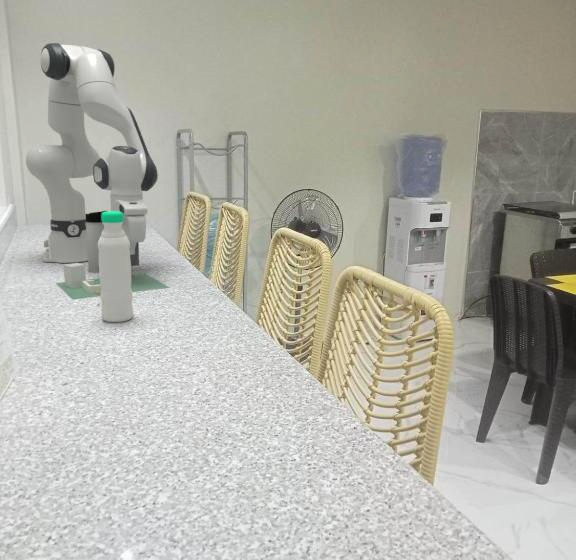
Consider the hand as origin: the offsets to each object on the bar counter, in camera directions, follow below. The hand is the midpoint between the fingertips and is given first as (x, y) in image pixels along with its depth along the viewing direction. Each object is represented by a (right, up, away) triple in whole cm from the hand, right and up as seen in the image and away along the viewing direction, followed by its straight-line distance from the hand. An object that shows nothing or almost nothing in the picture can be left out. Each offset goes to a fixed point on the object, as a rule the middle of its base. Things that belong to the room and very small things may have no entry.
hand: (128, 252), depth 165 cm
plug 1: (-12, -10, -8) cm, 18 cm away
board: (-3, -11, -6) cm, 13 cm away
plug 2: (0, -4, +1) cm, 4 cm away
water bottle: (+7, -17, -33) cm, 37 cm away
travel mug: (-12, -7, +11) cm, 18 cm away
